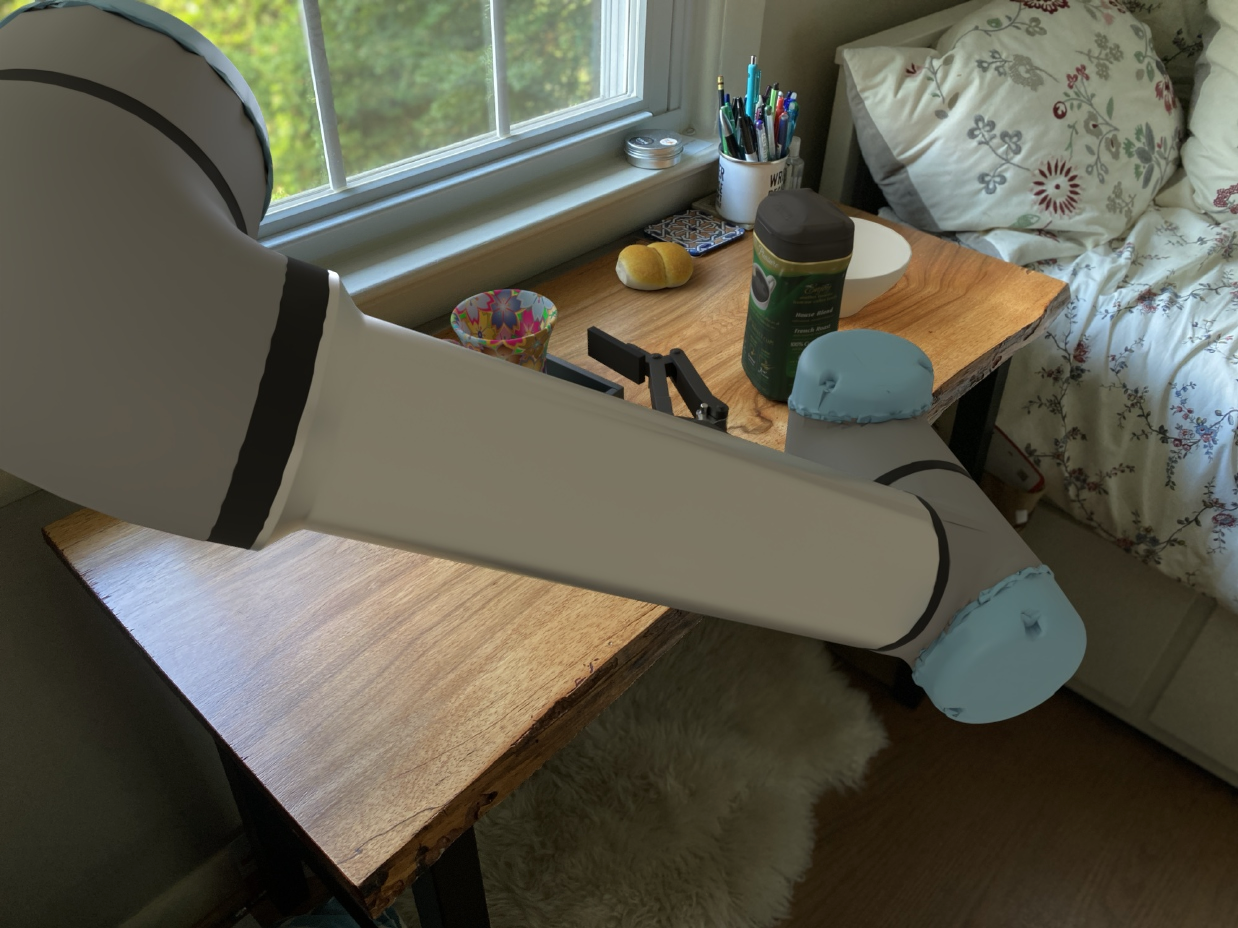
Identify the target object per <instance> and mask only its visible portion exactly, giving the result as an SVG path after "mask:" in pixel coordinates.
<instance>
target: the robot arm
mask: <svg viewBox="0 0 1238 928" xmlns="http://www.w3.org/2000/svg"><path fill="white" fill-rule="evenodd" d="M273 189H274V163H273V157H272V153H271V145H270V137H269V133H268V128H267V124H266V121H265V118H264V115H263V112H262V109H261V107H260V105H259V103H258V100H257V98H256V97H255V94H254V92H253V91H252V89H251V87H250V86H249V84H248V82H247V81H246V80H245V78H244V76H243V75H242V73H241V72H240V71H239V70H238V68H237V67H236V65H234V64H233V62H232V61H231V60H230V59H229V57H228V56H226V55H225V53H223V52H222V50H221V49H220V48H219V47H218V46H217V45H215V44H214V43H213V42H212V41H211V40H210V39H209V38H207V37H206V36H205V35H204V34H203V33H201V32H200V31H199V30H197V29H196V28H194V27H193V26H191V25H190V24H188V23H187V22H185V21H184V20H182V19H180V18H178V17H177V16H175V15H174V14H171V13H170V12H168V11H165V10H163V9H160V8H158V7H156V6H154V5H151V4H149V3H145V2H143V1H139V0H44V1H39V0H36V1H33V2H30V3H26V4H25V5H22V6H20V7H18V8H17V9H15V10H13V11H12V12H9V13H8V14H7V15H5V17H3V18H2V19H0V470H2V471H4V472H6V473H8V474H10V475H12V476H15V477H17V478H18V479H21V480H22V481H25V482H27V483H30V484H32V485H34V486H36V487H37V488H40V489H42V490H44V491H46V492H48V493H50V494H53V495H55V496H56V497H59V498H61V499H64V500H66V501H69V502H72V503H74V504H77V505H80V506H82V507H85V508H88V509H90V510H93V511H96V512H98V513H101V514H104V515H106V516H109V517H112V518H115V519H118V520H120V521H121V522H126V523H127V524H131V525H136V526H139V527H143V528H147V529H151V530H154V531H159V532H163V533H166V534H167V533H168V534H170V535H174V536H178V537H183V538H187V539H190V540H191V539H192V540H195V541H200V542H207V543H213V544H218V545H224V546H228V547H233V548H238V549H243V550H247V551H253V552H260V551H263V550H264V549H265V548H267V547H269V546H271V545H273V544H275V543H277V542H279V541H280V540H281V539H284V538H286V537H287V536H289V535H290V534H292V533H296V532H299V531H309V532H313V533H319V534H323V535H324V534H325V535H328V536H332V537H337V538H342V539H348V540H351V541H356V542H361V543H365V544H370V545H375V546H379V547H384V548H389V549H394V550H398V551H403V552H408V553H413V554H417V555H423V556H425V557H430V558H436V559H441V560H445V561H450V562H455V563H459V564H463V565H468V566H472V567H473V566H474V567H478V568H482V569H488V570H492V571H497V572H500V573H501V572H502V573H507V574H511V575H515V576H520V577H526V578H529V579H533V580H539V581H542V582H543V581H545V582H548V583H553V584H558V585H561V586H567V587H572V588H577V589H582V590H586V591H591V592H595V593H600V594H605V595H608V596H609V595H610V596H614V597H619V598H624V599H628V600H632V601H633V600H634V601H638V602H642V603H647V604H652V605H656V606H657V605H658V606H660V607H661V606H662V607H666V608H671V609H674V610H675V609H676V610H680V611H685V612H690V613H693V614H694V613H695V614H699V615H704V616H707V617H713V618H717V619H723V620H725V621H732V622H737V623H740V624H746V625H750V626H755V627H759V628H765V629H769V630H774V631H778V632H782V633H787V634H793V635H797V636H802V637H807V638H811V639H815V640H821V641H826V642H830V643H835V644H840V645H845V646H849V647H853V648H858V649H862V650H867V651H871V652H874V653H877V654H881V655H887V656H891V657H896V658H900V659H902V660H903V661H904V662H906V663H907V664H908V665H909V667H910V669H911V671H912V673H911V677H912V680H913V682H914V684H915V685H917V686H919V687H920V688H922V689H923V691H925V693H926V695H927V697H928V698H929V699H930V701H931V702H932V704H933V705H934V707H935V708H937V709H938V710H939V711H940V712H942V713H943V714H945V716H946V717H947V718H949V719H952V720H954V721H957V722H960V723H964V724H965V723H966V724H973V725H975V724H976V725H977V724H978V725H979V724H989V723H994V722H1000V721H1004V720H1005V721H1006V720H1008V719H1012V718H1014V717H1017V716H1019V715H1022V714H1024V713H1026V712H1028V711H1029V710H1032V709H1034V708H1036V707H1038V706H1040V705H1041V704H1043V703H1044V702H1045V701H1047V700H1048V699H1050V698H1051V697H1052V696H1054V695H1055V693H1056V692H1057V691H1058V690H1059V689H1060V688H1061V687H1062V686H1063V685H1064V684H1065V683H1067V682H1068V681H1069V680H1071V678H1072V677H1073V676H1074V674H1075V673H1076V672H1077V670H1078V669H1079V667H1080V665H1081V663H1082V662H1083V659H1084V656H1085V654H1086V651H1087V643H1088V642H1087V641H1088V640H1087V639H1088V638H1087V630H1086V626H1085V624H1084V621H1083V620H1082V618H1081V616H1080V614H1079V613H1078V611H1077V610H1076V609H1075V607H1074V606H1073V604H1072V602H1071V601H1070V600H1069V599H1068V597H1067V596H1066V594H1065V593H1064V591H1063V589H1062V588H1061V587H1060V585H1059V584H1058V583H1057V580H1055V573H1054V571H1052V570H1051V568H1050V567H1049V566H1048V565H1047V564H1043V563H1042V561H1041V560H1040V559H1039V558H1038V556H1037V555H1036V554H1035V553H1034V552H1033V550H1032V549H1031V548H1030V546H1029V545H1028V544H1027V543H1026V541H1024V540H1023V538H1022V537H1021V536H1020V535H1019V533H1018V532H1017V531H1016V530H1015V528H1014V527H1013V526H1012V525H1011V524H1010V523H1009V521H1008V520H1007V519H1006V517H1004V515H1003V514H1002V513H1001V512H1000V510H999V509H998V508H997V507H996V506H995V505H994V503H993V502H992V501H991V500H990V498H989V497H988V496H987V495H986V494H985V492H984V491H983V490H982V489H981V488H980V486H979V485H978V484H977V483H976V481H975V479H973V478H972V476H971V474H970V473H969V472H968V470H967V469H966V468H965V467H964V465H963V464H962V463H961V462H960V460H959V459H958V458H957V457H956V455H955V454H954V453H953V451H951V449H950V448H949V447H948V445H947V444H946V443H945V441H943V439H942V438H941V437H940V436H939V434H938V433H937V432H936V431H935V429H934V428H933V427H932V426H931V424H930V423H929V419H928V412H929V411H930V409H931V408H932V404H933V402H934V395H933V391H934V382H935V373H934V371H935V369H934V367H933V363H932V360H931V358H929V356H928V354H927V353H925V351H924V350H923V349H922V348H921V347H919V346H918V345H916V344H915V343H914V342H912V341H910V340H908V339H906V338H905V337H902V336H899V335H896V334H894V333H891V332H888V331H887V332H886V331H882V330H878V329H872V328H871V329H870V328H853V329H846V330H845V329H844V330H838V331H835V332H831V333H828V334H826V335H823V336H821V337H819V338H817V339H815V340H814V341H812V342H811V343H810V344H809V345H808V346H807V347H806V348H805V349H804V351H803V352H802V354H801V356H800V358H799V361H798V366H797V371H796V377H795V381H794V386H793V390H792V394H791V395H790V397H789V398H788V401H787V408H788V416H787V426H786V433H785V442H784V451H782V450H778V449H775V448H772V447H770V446H769V447H768V446H766V445H763V444H760V443H757V442H754V441H751V440H748V439H745V438H742V437H739V436H736V435H733V434H731V433H729V432H728V422H729V421H728V420H729V412H730V411H729V410H730V407H729V405H728V404H727V403H725V402H724V401H722V400H721V399H719V398H718V397H716V396H715V395H714V394H713V393H712V392H711V390H710V389H709V387H708V386H707V384H706V383H705V381H704V380H703V378H702V377H701V375H700V374H699V372H698V371H697V369H696V368H695V366H694V364H693V363H692V362H691V360H690V358H689V357H688V356H687V354H686V352H685V351H684V350H683V349H682V348H679V347H676V348H675V347H673V348H671V349H670V350H669V354H665V355H663V354H662V353H659V352H652V353H651V352H649V351H647V350H646V349H644V348H642V347H640V346H638V345H636V344H635V343H631V342H627V343H625V342H624V341H622V340H620V339H618V338H616V337H615V336H613V335H612V334H609V333H608V332H606V331H605V330H601V329H600V328H598V327H596V326H595V325H592V326H590V327H588V328H586V337H587V356H588V357H590V358H591V359H593V360H595V361H596V362H598V363H600V364H602V365H603V366H605V367H606V368H609V369H610V370H612V371H614V372H615V373H617V374H619V375H621V376H622V377H624V378H626V379H627V380H629V381H630V382H633V383H634V384H636V385H638V386H640V385H643V384H644V383H645V382H646V378H647V379H648V380H647V389H648V390H649V396H650V397H649V398H650V405H651V408H650V407H648V406H645V405H642V404H638V403H636V402H632V401H629V400H626V399H624V400H623V399H620V398H617V397H614V396H611V395H608V394H605V393H602V392H599V391H596V390H593V389H590V388H587V387H584V386H581V385H578V384H575V383H572V382H569V381H566V380H562V379H559V378H556V377H553V376H550V375H547V374H544V373H541V372H538V371H535V370H532V369H529V368H526V367H523V366H520V365H517V364H514V363H511V362H508V361H505V360H502V359H499V358H496V357H492V356H489V355H486V354H483V353H480V352H477V351H474V350H471V349H468V348H465V347H464V346H463V345H462V346H463V347H462V346H459V345H456V344H453V343H450V342H447V341H444V340H441V338H437V337H434V336H433V335H432V336H431V335H428V334H426V333H423V332H419V331H416V330H413V329H410V328H407V327H404V326H401V325H397V324H395V323H392V322H389V321H386V320H383V319H380V318H376V317H374V316H370V315H368V314H366V313H365V314H364V313H363V312H362V311H361V309H359V308H358V307H357V306H356V304H355V302H354V300H353V298H352V296H351V295H350V293H349V291H348V290H347V288H346V286H345V285H344V283H343V281H342V279H341V278H340V276H339V274H338V273H337V272H335V271H333V270H330V269H327V268H324V267H321V266H319V265H315V264H312V263H309V262H306V261H304V260H301V259H297V258H295V257H292V256H289V255H285V254H283V253H280V252H279V251H276V250H273V249H271V248H269V247H268V246H264V245H263V244H262V243H260V242H259V241H257V240H258V236H259V230H260V226H261V223H262V222H263V220H264V218H265V216H266V214H267V213H268V211H269V207H270V206H271V205H270V204H271V201H272V194H273ZM668 378H669V379H670V381H671V383H672V384H673V386H674V388H675V389H676V391H677V393H678V394H679V396H680V397H681V399H682V401H683V403H684V404H685V406H686V407H687V409H688V410H689V412H690V414H691V415H692V417H691V416H681V415H675V413H674V409H673V404H672V398H671V396H670V391H669V385H668V384H669V383H668Z"/></svg>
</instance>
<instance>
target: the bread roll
mask: <svg viewBox="0 0 1238 928" xmlns="http://www.w3.org/2000/svg"><path fill="white" fill-rule="evenodd" d="M617 258H618V259H617V262H616V266H615V271H616V272H615V273H616V274H617V277H618V279H619V280H620V281H621V282H622V283H623V284H624V285H625V286H626V287H629V288H631V289H634V290H641V291H655V290H662V289H665V288H677V287H681V286H684V285H685V284H686V283H687V282H688V281H689V279H690V278H691V277H692V275H693V272H694V260H693V258H692V255H691V254H690V252H689V251H688V249H686V248H685V247H684V246H682V245H681V244H679V243H676V242H670V241H659V242H658V241H657V242H652V243H650V244H648V245H644V244H632V245H631V244H630V245H628V246H626V247H625V248H623V249H622V250H621V252H619V255H618V257H617Z"/></svg>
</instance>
